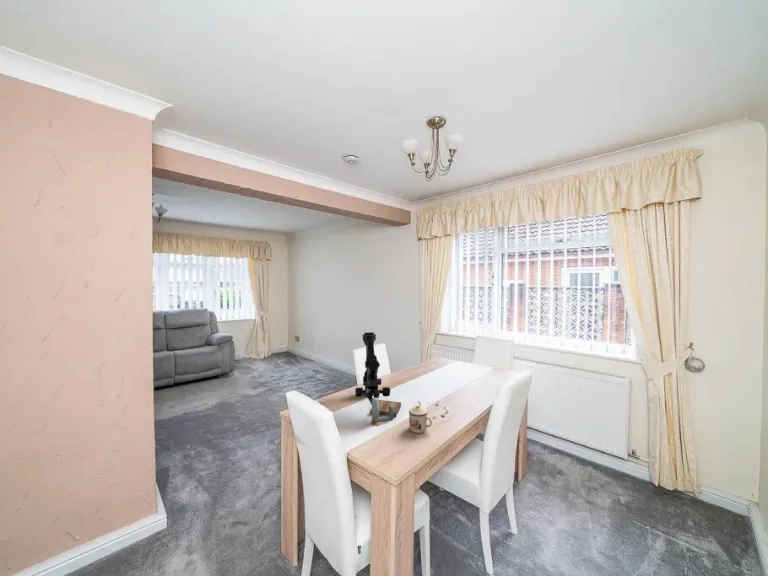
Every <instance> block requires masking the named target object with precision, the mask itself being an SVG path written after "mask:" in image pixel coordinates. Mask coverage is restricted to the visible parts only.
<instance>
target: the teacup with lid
mask: <svg viewBox="0 0 768 576" xmlns="http://www.w3.org/2000/svg"><path fill="white" fill-rule="evenodd" d="M408 413H409V414H408V415H409V417H408V423H409V425H408V427H409V430H410V431H411V432H413V433H416V434H423V433H425V432H427V430H428V428H430V427H431V426H432V425H433V420H432V418H431V417H429V416H428V410H427V409H426V408H425V407H422V406H421V405H420V404H418V405H415V406H413V407H410V408H409V409H408ZM428 421H429V424H428Z"/></svg>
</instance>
